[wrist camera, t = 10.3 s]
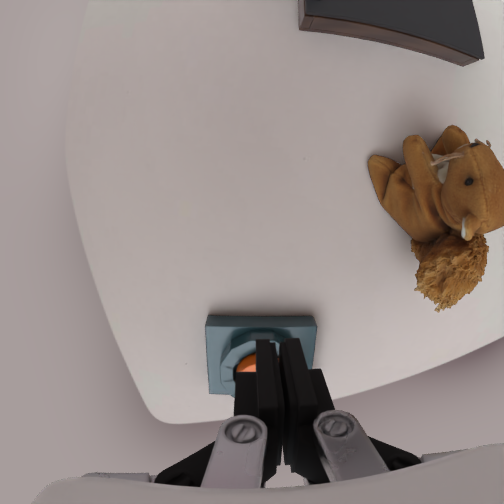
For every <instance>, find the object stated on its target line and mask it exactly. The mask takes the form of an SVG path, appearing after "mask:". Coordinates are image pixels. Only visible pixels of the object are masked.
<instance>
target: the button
mask: <svg viewBox="0 0 504 504" xmlns="http://www.w3.org/2000/svg"><path fill="white" fill-rule="evenodd" d="M278 363H279V358H278ZM236 372H256V353H255V354H251V355H249V356H247V357H245V358H244V359H243V360H242V361H241V362H240V363H239V365H238V367H237V371H236Z"/></svg>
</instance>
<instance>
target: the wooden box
mask: <svg viewBox="0 0 504 504" xmlns="http://www.w3.org/2000/svg"><path fill="white" fill-rule="evenodd" d="M298 15H299V30H302V31H312V32H321V33H329V34H336V35H343V36H349V37H355V38H360V39H366V40H371V41H376V42H380V43H385V44H389V45H394V46H398V47H402V48H406V49H409V50H413V51H417V52H420V53H424V54H427V55H430V56H434V57H437V58H440V59H443V60H446V61H449V62H452V63H455V64H458V65H460V66H465V65H468V64H470V63H473V62H476V61H478V60H479V58H477V57H474V56H472V55H469V54H467V53H464V52H462V51H459V50H457V49H454V48H451V47H448V46H446V45H443V44H440V43H437V42H434V41H431V40H428V39H425V38H421V37H418V36H415V35H411V34H408V33H404V32H400V31H396V30H392V29H388V28H384V27H380V26H375V25H371V24H366V23H361V22H356V21H350V20H344V19H338V18H331V17H324V16H316V15H307V14H306V13H305V0H298Z"/></svg>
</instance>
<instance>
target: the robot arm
mask: <svg viewBox="0 0 504 504" xmlns="http://www.w3.org/2000/svg"><path fill="white" fill-rule="evenodd" d="M282 446H283V453H284V462H285V465H290V466H291V472H292V473H294V472H296V473H297V474H299V475H301V476H303V477H304V479H303V480H304V485H305V486H295V487H281V488H265V485H266V481H267V480H269V479H270V478H271V477H272V476H274V475H275V474H276V468H277V466H278V465H280V463H281V453H282ZM32 504H504V443H500V444H490V445H484V446H479V447H476V448H471V449H465V450H457V451H450V452H442V453H433V454H424V455H422V457H421V458H418V457H417V456H415V455H413V454H412V453H409V452H407V451H404V450H401V449H399V448H396V447H394V446H391V445H388V444H386V443H383V442H381V441H378V440H376V439H374V438H371V437H369V436H367V435H366V433H365V431H364V430H363V428H362V427H361V425H360V423H359V422H358V420H357V419H356V418H355V417H354V416H353V415H351V414H350V413H348V412H344V411H340V410H335V408H334V405H333V402H332V399H331V396H330V393H329V390H328V387H327V385H326V382H325V379H324V376H323V373H322V370H321V369H308V367H307V363H306V360H305V356H304V353H303V349H302V346H301V342H300V339H299V338H285V340H284V342H279V363H278V356H277V350H276V343H275V342H270V339H256V372H236V382H235V401H234V417H231V418H229V419H227V420H226V421H224V423H222V425H221V427H220V429H219V432H218V435H217V438H216V441H214V442H212V443H211V444H209V445H208V446H206V447H204V448H202V449H201V450H199V451H198V452H196V453H194V454H192V455H190V456H189V457H187V458H185V459H183V460H182V461H180V462H178V463H176V464H174V465H173V466H171V467H169V468H167V469H165V470H163V471H162V472H161V473H159V474H158V475H156V476H155V475H154V476H150V475H149V473H88V474H85V475H83V476H82V477H77V478H67V479H62V480H58V481H55V482H52V483H51V484H49V485H47V486H46V487H45V488H44V489H43V490H42V491H41V492H40V493H39V494H38V495H37V497H36V498H35V500H34V501H33V503H32Z"/></svg>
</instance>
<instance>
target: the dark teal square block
mask: <svg viewBox="0 0 504 504" xmlns="http://www.w3.org/2000/svg"><path fill="white" fill-rule="evenodd" d="M316 333H317V325H316V322H315V320H314V318H313V316H213V315H208V317H207V321H206V325H205V334H206V352H207V367H208V381H209V393H210V394H226V395H231V396H232V397H234V398H235V382H236V371H237V367H238V365H239V363H240V362H241V361H242V360H243V359H244V358H245V357H247V356H249V355H251V354H255V353H256V339H270V342H275V343H276V350H277V356H278V358H279V342H284V340H285V338H299V339H300V342H301V346H302V349H303V353H304V356H305V360H306V363H307V367H308V369H312V365H313V357H314V350H315V341H316Z"/></svg>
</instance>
